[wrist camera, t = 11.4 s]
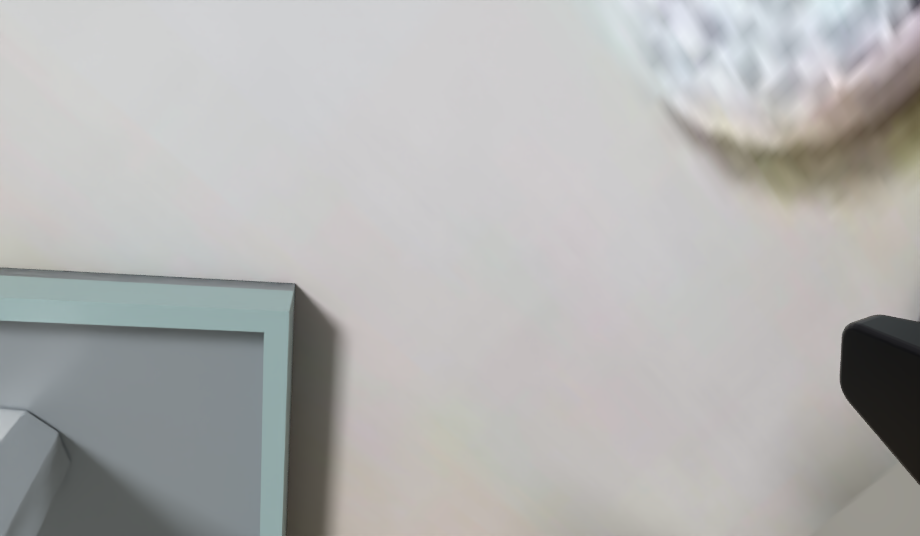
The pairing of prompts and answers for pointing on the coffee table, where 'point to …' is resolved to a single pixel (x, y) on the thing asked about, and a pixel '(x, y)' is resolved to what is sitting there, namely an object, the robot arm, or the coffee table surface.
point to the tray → (155, 398)
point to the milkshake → (28, 472)
